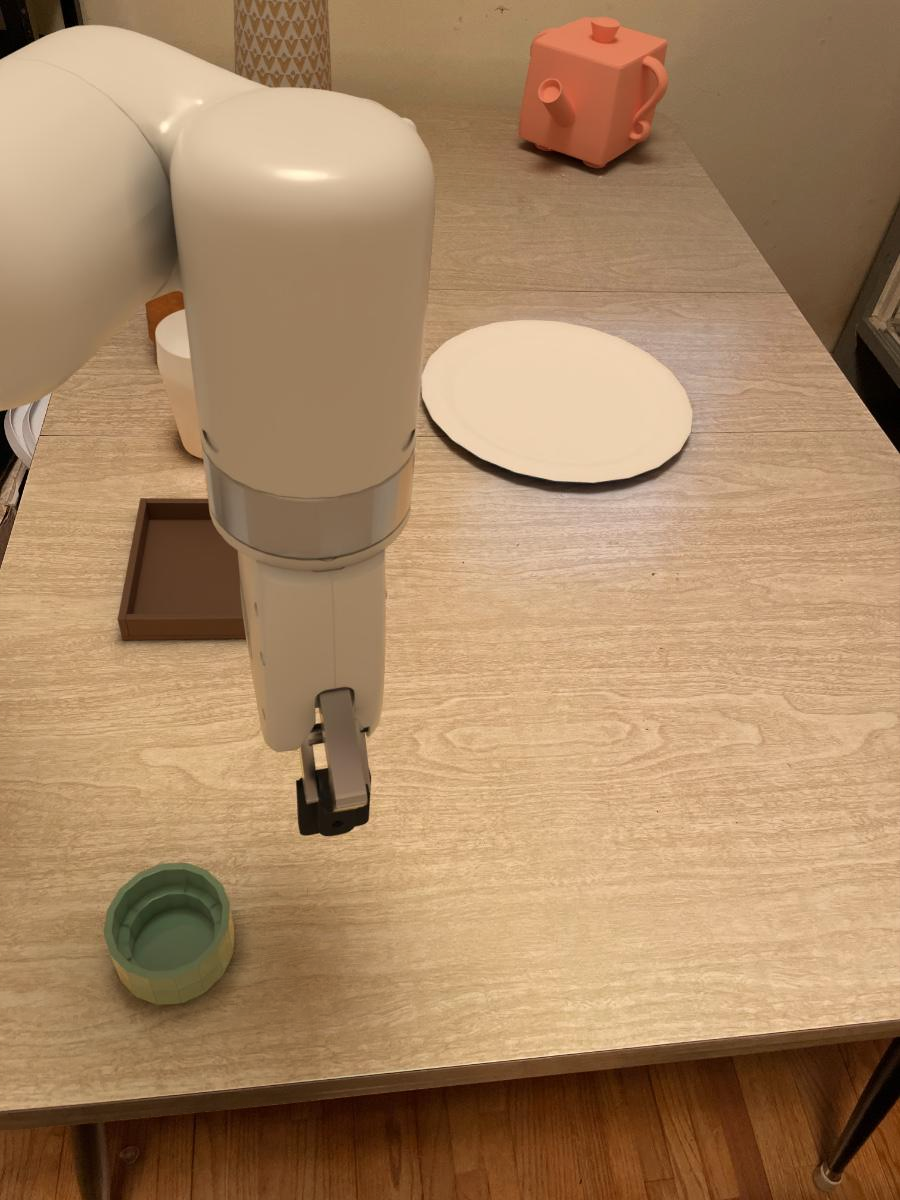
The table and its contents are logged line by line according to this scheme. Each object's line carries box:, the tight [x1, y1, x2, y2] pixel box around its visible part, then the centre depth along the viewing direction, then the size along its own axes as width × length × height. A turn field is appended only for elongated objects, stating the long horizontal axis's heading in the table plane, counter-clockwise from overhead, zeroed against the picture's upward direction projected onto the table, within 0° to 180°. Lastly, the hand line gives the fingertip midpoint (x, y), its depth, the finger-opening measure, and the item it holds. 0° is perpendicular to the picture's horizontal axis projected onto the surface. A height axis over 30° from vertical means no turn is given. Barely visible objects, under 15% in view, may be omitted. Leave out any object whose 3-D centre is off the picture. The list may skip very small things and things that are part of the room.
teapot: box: [518, 16, 669, 169], centre depth 143 cm, size 25×23×18 cm
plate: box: [421, 319, 694, 485], centre depth 103 cm, size 29×29×2 cm
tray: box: [117, 497, 246, 641], centre depth 81 cm, size 17×14×2 cm
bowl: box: [103, 862, 235, 1006], centre depth 58 cm, size 7×7×4 cm
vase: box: [233, 0, 333, 91], centre depth 133 cm, size 14×14×31 cm
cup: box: [155, 309, 203, 460], centre depth 90 cm, size 9×9×12 cm
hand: (315, 739), depth 48 cm, fingers open, 9 cm apart
